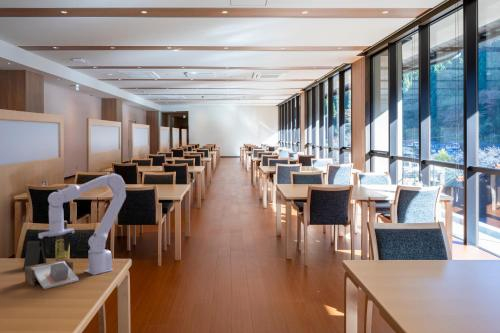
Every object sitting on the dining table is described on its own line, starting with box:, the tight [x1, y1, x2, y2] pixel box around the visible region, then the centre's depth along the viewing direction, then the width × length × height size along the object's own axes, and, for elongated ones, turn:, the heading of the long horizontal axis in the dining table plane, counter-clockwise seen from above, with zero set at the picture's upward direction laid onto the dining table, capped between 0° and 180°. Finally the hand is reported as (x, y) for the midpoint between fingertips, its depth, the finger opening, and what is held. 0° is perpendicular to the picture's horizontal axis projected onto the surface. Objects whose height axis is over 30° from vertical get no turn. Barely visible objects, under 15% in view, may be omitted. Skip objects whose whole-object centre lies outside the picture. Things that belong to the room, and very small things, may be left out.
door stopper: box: [23, 240, 47, 271], centre depth 210 cm, size 9×6×12 cm, turn 173°
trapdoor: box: [31, 261, 80, 290], centre depth 188 cm, size 14×14×1 cm
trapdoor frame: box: [24, 259, 74, 286], centre depth 192 cm, size 17×8×6 cm, turn 136°
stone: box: [50, 263, 69, 282], centre depth 185 cm, size 5×5×5 cm
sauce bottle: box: [54, 220, 71, 261], centre depth 217 cm, size 6×6×20 cm
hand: (57, 252), depth 195 cm, fingers open, 7 cm apart
